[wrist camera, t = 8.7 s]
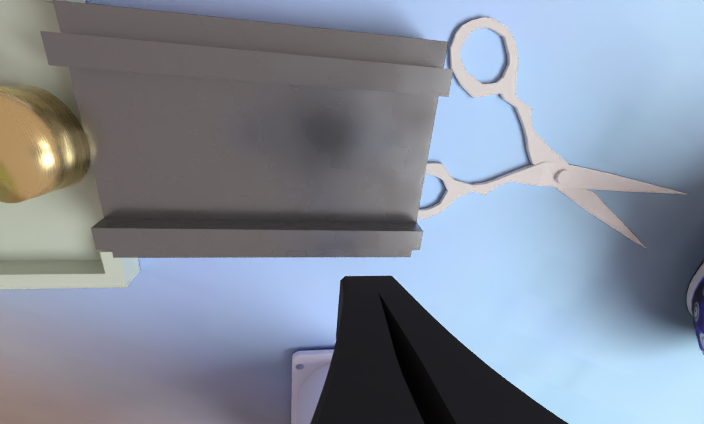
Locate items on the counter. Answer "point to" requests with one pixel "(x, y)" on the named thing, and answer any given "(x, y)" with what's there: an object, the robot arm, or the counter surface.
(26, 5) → the tray
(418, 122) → the slot block
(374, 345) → the robot arm
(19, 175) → the brass disc
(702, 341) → the teapot
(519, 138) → the counter surface
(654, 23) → the counter surface
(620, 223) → the scissors
